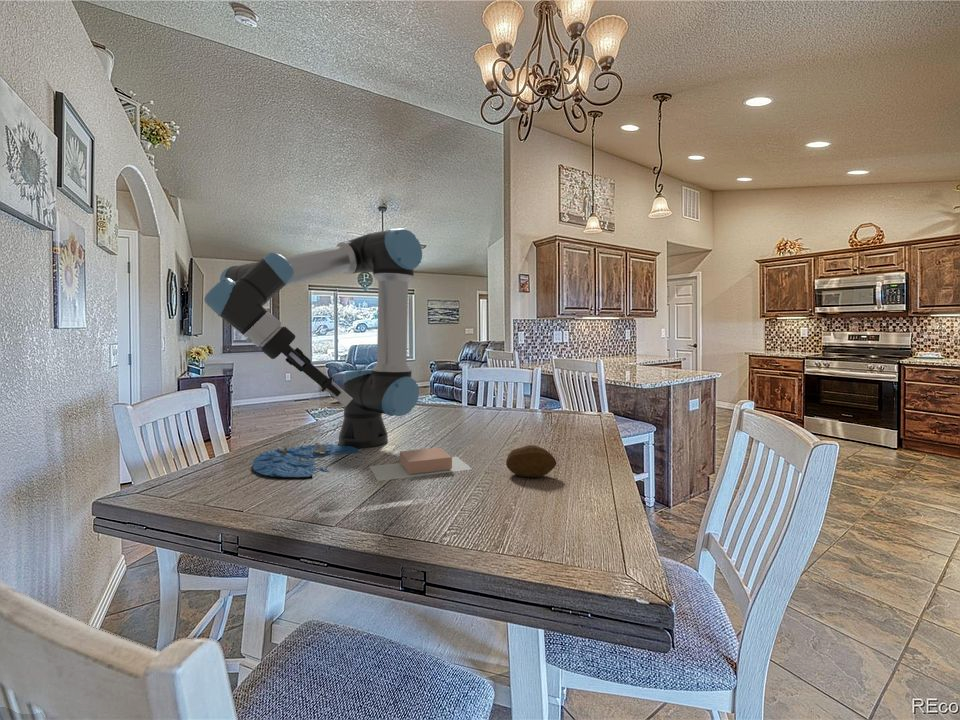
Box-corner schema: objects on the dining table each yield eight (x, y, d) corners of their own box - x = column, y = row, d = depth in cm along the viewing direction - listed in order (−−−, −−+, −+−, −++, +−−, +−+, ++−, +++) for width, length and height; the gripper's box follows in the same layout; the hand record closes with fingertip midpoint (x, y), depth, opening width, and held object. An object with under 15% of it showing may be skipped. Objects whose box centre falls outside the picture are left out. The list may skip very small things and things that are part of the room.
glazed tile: (399, 451, 124) (439, 447, 128) (399, 464, 124) (439, 459, 128) (409, 462, 114) (451, 457, 119) (409, 475, 115) (451, 470, 119)
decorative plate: (382, 453, 142) (382, 436, 142) (343, 486, 113) (344, 465, 112) (288, 446, 145) (289, 430, 145) (227, 477, 115) (227, 456, 115)
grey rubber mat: (369, 469, 122) (369, 466, 122) (456, 459, 131) (456, 456, 131) (377, 484, 111) (377, 480, 111) (472, 472, 120) (472, 469, 120)
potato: (505, 470, 122) (505, 440, 121) (553, 471, 122) (554, 441, 121) (506, 480, 114) (506, 449, 113) (557, 481, 114) (558, 450, 113)
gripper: (259, 346, 113) (334, 409, 121) (258, 350, 101) (341, 419, 110) (282, 324, 115) (355, 387, 123) (283, 325, 103) (364, 395, 111)
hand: (348, 402), depth 116 cm, fingers closed
